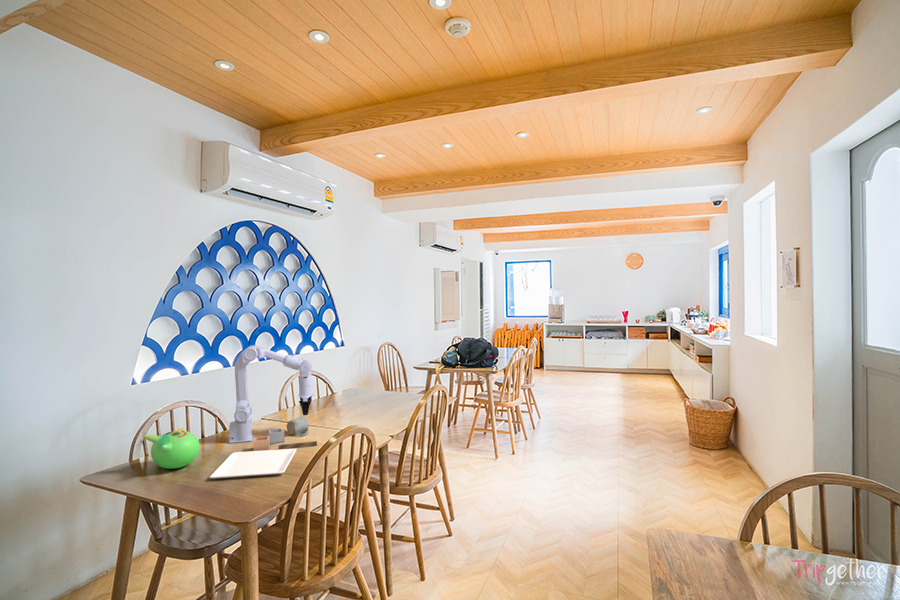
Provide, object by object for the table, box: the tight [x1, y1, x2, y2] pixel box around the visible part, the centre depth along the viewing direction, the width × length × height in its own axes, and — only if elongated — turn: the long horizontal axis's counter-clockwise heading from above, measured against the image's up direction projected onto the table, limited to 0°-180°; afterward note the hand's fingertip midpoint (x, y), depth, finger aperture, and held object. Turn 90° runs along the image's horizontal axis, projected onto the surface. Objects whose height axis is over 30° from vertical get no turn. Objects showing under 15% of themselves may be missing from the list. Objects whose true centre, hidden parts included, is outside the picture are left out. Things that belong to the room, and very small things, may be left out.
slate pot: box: [267, 428, 285, 446], centre depth 204 cm, size 6×6×5 cm
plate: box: [209, 448, 298, 479], centre depth 175 cm, size 26×26×2 cm
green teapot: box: [142, 427, 201, 469], centre depth 174 cm, size 18×17×15 cm
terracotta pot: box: [253, 435, 271, 451], centre depth 193 cm, size 6×6×5 cm
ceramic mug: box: [286, 415, 310, 437], centre depth 215 cm, size 11×8×8 cm
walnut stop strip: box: [278, 440, 318, 450], centre depth 195 cm, size 16×1×2 cm, turn 107°
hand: (305, 413), depth 215 cm, fingers open, 7 cm apart
